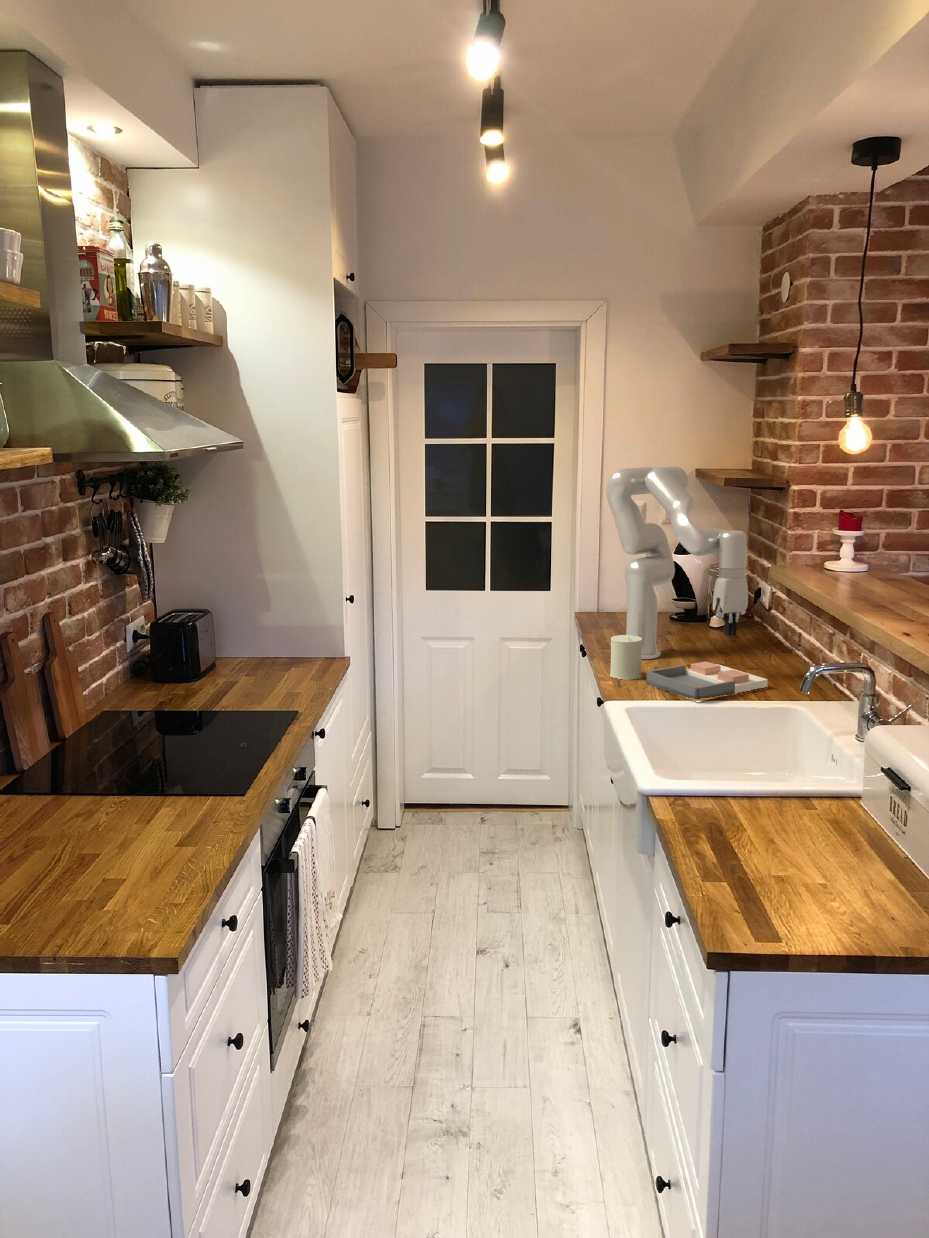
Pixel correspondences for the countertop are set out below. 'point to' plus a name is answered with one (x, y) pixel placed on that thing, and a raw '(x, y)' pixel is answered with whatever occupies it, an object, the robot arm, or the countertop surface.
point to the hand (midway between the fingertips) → (730, 635)
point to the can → (626, 657)
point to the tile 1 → (705, 668)
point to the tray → (687, 683)
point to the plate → (739, 687)
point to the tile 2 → (733, 676)
